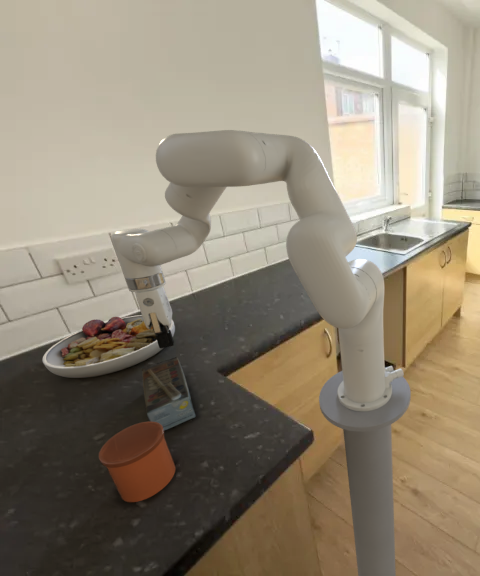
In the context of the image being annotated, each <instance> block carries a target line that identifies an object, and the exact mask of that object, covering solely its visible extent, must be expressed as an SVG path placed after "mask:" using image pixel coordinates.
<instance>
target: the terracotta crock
mask: <svg viewBox="0 0 480 576" xmlns="http://www.w3.org/2000/svg"><path fill="white" fill-rule="evenodd" d="M98 460H99V461H100V464H101V465H102V466H103V467H105V468H106V470H107V472H108V474H109V476H110V478H111V480H112V482H113V484H114V486H115V488H116V490H117V491H118V494H119V497H120V498H121V500H123V501H124V502H127V503H137V502H138V503H139V502H141V501H145V500H147V499H150V498H151V497H153V496H155V495H157V494H158V493H159V492H160V491H162V490H163V489H164V488H165V487H166V486H167V485H168V484H169V483H170V482H171V481H172V479H173V478H174V476H175V473H176V464H175V461H174V458H173V456H172V453H171V450H170V448H169V445H168V443H167V440H166V437H165V430H164V429H163V426H162V425H161V424H160V423H158V422H153V421H149V420H148V421H141V422H139V423H138V422H137V423H135V424H133V425H130V426H127V427H126V428H124V429H122V430H120V431H119V432H116V433H115V434H114V435H113V436H111V437H110V438H109V439H108V440H107V441H106V442H105V443H104V444H103V445H102V447H101V448H100V450H99V452H98Z"/></svg>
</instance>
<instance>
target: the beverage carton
mask: <svg viewBox="0 0 480 576" xmlns="http://www.w3.org/2000/svg"><path fill="white" fill-rule="evenodd" d="M181 364H182V363H181V362H180V360H179V357H177V356H175V357H172V358H170V359H167V360H165V361H159V362H157V363H154V364H152V365H149V366H145V367H142V369H141V374H142V386H143V387H142V388H143V397H144V404H145V412H146V417H147V418H148V422H149V421H153V422H158V423H160V424H161V425H162V426H163V429H164V431H167V430H169V429H172V428H173V427H176V426H178V425H181V424H182V423H185V422H187V421H189V420H192V419H194V418H196V417H197V416H196V412H195V409H194V405H193V402H192V399H191V397H192V396H191V393H190V390H189V386H188V382H187V377H186V376H185V373H184V370H183V367H182V365H181Z"/></svg>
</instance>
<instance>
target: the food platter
mask: <svg viewBox="0 0 480 576" xmlns="http://www.w3.org/2000/svg"><path fill="white" fill-rule="evenodd" d="M169 330H171V334H172V337H173V338H174V336H175V332H176V325H175V322H174V320H173V319H172V320H171V323H170V325H169ZM163 349H164V348H159V345H158V342H157V339H156V336H155V333H154V330H153V328H152V327H151V329H148V328H147V327H146V325H145V323H144V320H143V317H142V314H140V315H132V316H131V315H130V316H126V317H120V316H112V317H110V318H109V319H108V321H105V322H104V320H101V319H91V320H89V321H87V322H86V323H84V324H83V325H82V328H81V330H79V331H77V332H75V333H73V334H70V335H68V336H67V337H64V338H62V339H61V340H58V342H56V343H54V344H53V345H52V346H51V347H49V348H48V349H47V351H46V352H44V354H43V356H42V363H43V365H44V367H45V369H47V371H49V372H50V373H52V374H53V375H55V376H58V377H63V378H70V379H86V378H94V377H100V376H104V375H108V374H112V373H115V372H120V371H123V370H126V369H128V368H131V367H133V366H135V365H138V364H141V363H142V362H144V361H146V360H148V359H150V358H152V357H154V356H155V355H157V354H158V353H160V352H161V351H162V350H163Z"/></svg>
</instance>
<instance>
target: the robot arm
mask: <svg viewBox="0 0 480 576" xmlns="http://www.w3.org/2000/svg"><path fill="white" fill-rule="evenodd" d="M155 151H156V152H155V163H156V167H157V169H158V171H159V173H160V175H161V176H162V177H163V178H164V179H165V180H166V181H168V182H169V184H168V185H167V187H166V189H165V191H164V198H165V201H166V203H167V204H168V205H169V207H170V208H171V209H172V211H175V212H176V213H177V214H178V215H180V217H181V218H180V219H179V220H178V222H177V223H176V224H175V225H170V226H167V227H162V228H158V229H154V230H150V231H149V230H148V229H144V228H129V229H123V230H119V231H115V232H114V233H112V235H111V237H110V238H111V243H112V247H113V248H114V253H115V255H116V258H117V260H118V264H119V266H120V269H121V272H122V275H123V277H124V278H123V279H124V281H125V282H126V286H127V289H128V291H129V292H132V293H135V297H136V301H137V304H138V307H139V311H140V315H142V317H143V320H144V323H145V325H146V327H147V328H148V329H151V327H152V328H153V330H154V333H155V336H156V339H157V342H158V345H159V348H163V349H165V348H169V347H173V346H174V345H175V341H174V336H173V337H172V334H171V330H169V325H170V323H171V320H173V309H172V306H171V304H170V303H171V302H170V301H169V297H168V295H167V292H166V289H165V287H164V286H165V285H166V284H167V283H166V278H165V275H164V272H163V268H162V265H164V264H167V263H170V262H173V261H175V260H179V259H181V258H185V257H187V256H190V255H192V254H194V253H195V252H196V251H198V249H200V248H201V246H202V245H203V244H204V242H205V240H207V238H208V236H209V235H210V232H211V229H212V217H211V214H210V213H211V211H212V210H213V208H214V207H215V205H216V204H217V202H218V201H219V199H220V198H221V196H222V195H223V193H224V192H225V190H226V189H227V188H229V187H231V188H235V187H236V188H238V187H249V186H250V187H251V186H257V185H265V184H271V183H272V184H273V183H277V182H285V184H286V191H287V195H288V199H289V201H290V204H291V206H292V208H293V209H294V211H295V212H296V215H297V217H298V219H299V220H298V221H297V222H295V223H294V224H293V225H292V226H291V227H290V229H289V231H288V233H287V236H286V242H285V248H286V254H287V257H288V261H289V263H290V265H291V267H292V269H293V271H294V272H295V275H296V276H297V278H298V280H299V282H300V284H301V285H302V287H303V289H304V291H305V293H306V294H307V296H308V298H309V299H310V301H311V304H312V305H313V307H314V309H315V310H316V311H317V313H318V314H319V316H320V317H321V318H322V319H323V320H324V321H325V322H326V323H327V324H329V325H330V326H332V327H333V328H337V329H338V339H339V351H340V361H341V371H342V372H343V381H342V382H341V384H340V385H339V387H338V391H337V392H338V399H339V401H340V403H341V404H342V405H343V406H345V407H346V408H348V409H350V410H354V411H361V412H362V411H371V410H375V409H378V408H380V407H382V406H383V405H385V404H386V403H387V402H388V401H389V399H390V398H391V395H392V385H391V382H392V381H393V379H397V378H400V377H402V376H403V377H404V376H405V374H404V370H403V369H402V368H398V369H394V367H393V365H390V366H386V365H385V340H384V338H385V337H384V335H385V333H384V305H385V279H384V278H385V277H384V275H383V273H382V271H381V270H380V267H378V265H377V264H376V263H374V262H373V261H371V260H369V259H365V258H357V259H353V260H350V261H348V260H347V257H348V256H349V255H350V254H351V253H352V251H353V250H354V249H355V248H356V245H357V242H358V233H357V231H356V229H355V226H354V224H353V222H352V219H351V218H350V216H349V213H348V212H347V209H346V207H345V206H344V204H343V201H342V199H341V198H340V195H339V193H338V191H337V189H336V188H335V186H334V184H333V181H332V180H331V178H330V176H329V174H328V171H327V169H326V167H325V164H324V163H323V161H322V159H321V157H320V155H319V154H318V152H317V151H316V149H315V148H314V147H313V146H312V145H311V144H310V143H309V142H308V141H306V140H304V139H302V138H300V137H297V136H294V135H287V134H277V133H276V134H274V133H266V132H254V131H247V130H235V129H224V130H210V131H209V130H208V131H198V132H196V131H195V132H181V133H178V132H177V133H172V134H169V135H166V136H165V137H164V138H163V139H162V140H161V141H160V142H159V144H158V145H157V148H156V150H155ZM385 367H386V368H385ZM393 370H394V371H393ZM392 371H393V372H392ZM390 372H391V373H390Z"/></svg>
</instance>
